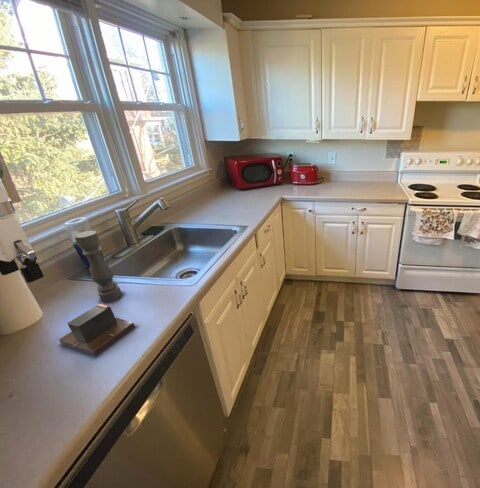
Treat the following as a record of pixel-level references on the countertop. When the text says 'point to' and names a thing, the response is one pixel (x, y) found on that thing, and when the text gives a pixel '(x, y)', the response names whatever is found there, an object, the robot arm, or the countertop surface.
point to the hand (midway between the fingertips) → (23, 276)
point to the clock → (92, 323)
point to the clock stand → (99, 338)
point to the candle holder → (98, 266)
